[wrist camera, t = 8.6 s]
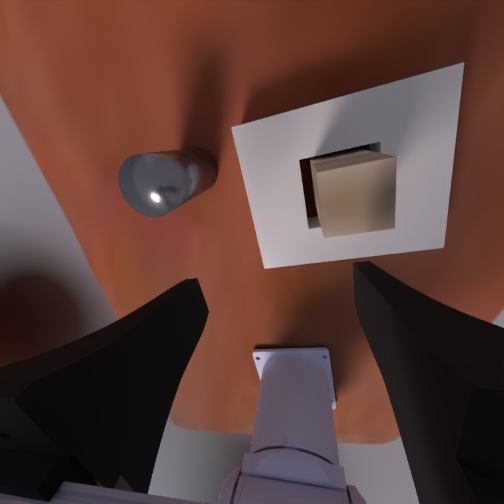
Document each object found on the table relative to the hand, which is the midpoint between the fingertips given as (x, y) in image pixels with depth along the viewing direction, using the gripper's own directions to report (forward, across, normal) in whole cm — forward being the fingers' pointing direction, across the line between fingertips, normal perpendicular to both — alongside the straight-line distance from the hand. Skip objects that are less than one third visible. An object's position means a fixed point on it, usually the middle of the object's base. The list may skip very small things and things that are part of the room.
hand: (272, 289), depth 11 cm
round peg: (+9, +6, -5) cm, 12 cm away
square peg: (+9, -4, -3) cm, 11 cm away
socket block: (+9, -4, -2) cm, 11 cm away
